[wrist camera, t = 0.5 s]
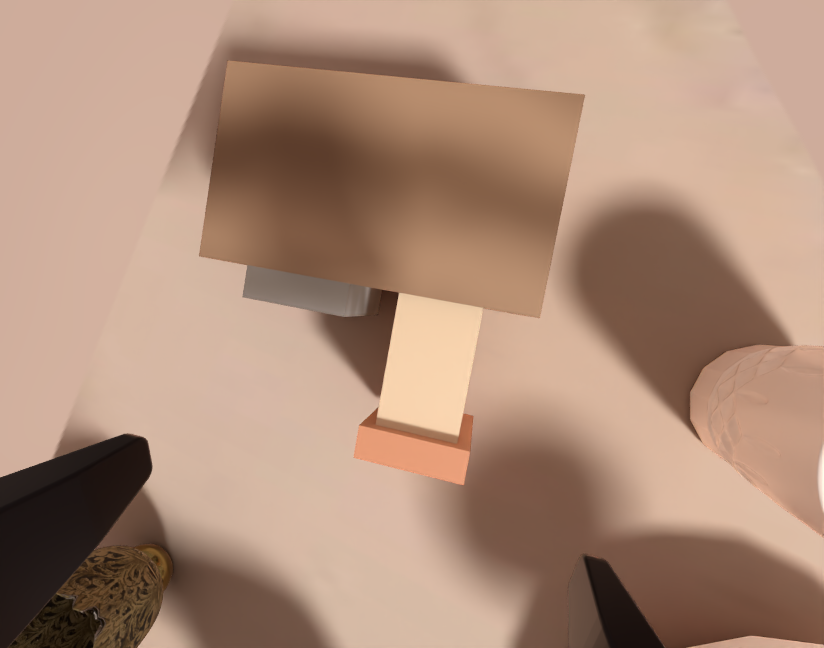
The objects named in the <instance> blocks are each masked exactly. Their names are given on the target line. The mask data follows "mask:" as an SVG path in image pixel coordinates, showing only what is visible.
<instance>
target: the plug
mask: <svg viewBox="0 0 824 648" xmlns="http://www.w3.org/2000/svg"><path fill="white" fill-rule="evenodd" d="M482 313H483V308H481V307H475V306H470V305H464V304H459V303H453V302H448V301H442V300H437V299H431V298H426V297H420V296H415V295H409V294H404V293H399V296H398V302H397V307H396V313H395V319H394V324H393V330H392V335H391V341H390V347H389V352H388V358H387V363H386V369H385V374H384V380H383V386H382V391H381V397H380V402H379V407H378V408H377V409H376V410H375V411H374V412H373V413H372V414H371V415H370V416H369V417H368V418H367V419H365V420H364V421H363V422H362V423H361V424H360V425H359V430H358V435H357V441H356V447H355V452H354V458H357V459H361V460H365V461H369V462H373V463H377V464H381V465H385V466H389V467H393V468H397V469H401V470H405V471H409V472H413V473H417V474H421V475H425V476H429V477H433V478H437V479H441V480H445V481H449V482H453V483H457V484H461V485H464V481H465V476H466V471H467V465H468V460H469V455H470V448H471V437H472V425H473V416H471V415H467V414H463V411H464V406H465V401H466V396H467V391H468V385H469V380H470V375H471V370H472V365H473V360H474V354H475V349H476V344H477V339H478V334H479V329H480V323H481V318H482Z"/></svg>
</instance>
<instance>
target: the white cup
mask: <svg viewBox="0 0 824 648" xmlns="http://www.w3.org/2000/svg"><path fill="white" fill-rule="evenodd" d="M690 420H691V422H692V424H693V426H694V428H695V430H696V431H697V433H698V435H699V437H700V439H701V441H702V443H703V444H704V445H705V446H706V447H708V448H709V449H710V450H712V451H713V452H714V453H716V454H717V455H718V456H720V457H721V458H722V459H724V460H725V461H726V462H728V463H729V464H730V465H731V466H732V467H733V468H734V469H735V470H736V471H737V473H738V474H739V475H741V476H742V477H743V478H745V479H746V480H747V481H749V482H750V483H751V484H752V485H753V486H755V487H756V488H757V489H758V490H760V491H761V492H762V493H764V494H765V495H767V496H768V497H769V498H770V499H771V500H773V501H774V502H775V503H776V504H777V505H779V506H780V507H781V508H783V509H784V510H786V511H787V512H788V513H790V514H791V515H793V516H794V517H795V518H797V519H798V520H800V521H801V522H802V523H804V524H805V525H806V526H808V527H809V528H811V529H812V530H813V531H815V532H816V533H817V534H819V535H820V536H821V537H823V538H824V346H807V345H805V346H772V345H754V346H749V347H744V348H739V349H734V350H729V351H726V352H725V353H724V354H722V355H721V356H719V357H718V358H717V359H715V360H714V361H712V362H711V363H710V364H708V365H707V366H705V367H704V368H703V369H702V371H701V373H700V375H699V377H698V379H697V380H696V382H695V384H694V386H693V388H692V390H691V392H690Z"/></svg>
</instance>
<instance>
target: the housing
mask: <svg viewBox="0 0 824 648" xmlns="http://www.w3.org/2000/svg"><path fill="white" fill-rule="evenodd" d="M584 97H585V95H582V94H572V93H562V92H551V91H541V90H530V89H520V88H509V87H499V86H489V85H478V84H468V83H457V82H447V81H437V80H426V79H416V78H405V77H395V76H385V75H374V74H364V73H353V72H343V71H333V70H322V69H312V68H301V67H291V66H280V65H270V64H260V63H249V62H239V61H227V67H226V74H225V81H224V88H223V95H222V102H221V109H220V116H219V122H218V129H217V136H216V143H215V150H214V157H213V164H212V171H211V177H210V184H209V191H208V198H207V205H206V212H205V219H204V226H203V233H202V239H201V246H200V253H199V256H201V257H206V258H212V259H217V260H222V261H228V262H233V263H239V264H244V265H247V271H246V278H245V284H244V291H243V297H245V298H250V299H255V300H260V301H265V302H270V303H275V304H281V305H286V306H291V307H296V308H301V309H306V310H311V311H316V312H321V313H327V314H332V315H337V316H342V317H351V316H368V315H378V310H379V305H380V299H381V293H382V290H386V291H392V292H397V293H404V294H409V295H415V296H420V297H426V298H431V299H437V300H442V301H448V302H453V303H459V304H464V305H470V306H475V307H481V308H485V309H491V310H496V311H502V312H507V313H513V314H518V315H524V316H530V317H536V318H540V314H541V309H542V304H543V299H544V294H545V289H546V285H547V280H548V275H549V270H550V265H551V260H552V255H553V250H554V245H555V240H556V235H557V230H558V225H559V220H560V216H561V211H562V206H563V201H564V196H565V191H566V186H567V181H568V176H569V171H570V166H571V161H572V156H573V151H574V147H575V142H576V137H577V132H578V127H579V122H580V117H581V112H582V107H583V102H584Z"/></svg>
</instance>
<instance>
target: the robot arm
mask: <svg viewBox="0 0 824 648" xmlns="http://www.w3.org/2000/svg"><path fill="white" fill-rule="evenodd" d="M151 472H152V461H151V455H150V450H149V445H148V441H147V440H146V439H145V438H144V437H141V436H137V435H134V434H123V435H120V436H117V437H114V438H111V439H108V440H105V441H103V442H100V443H97V444H94V445H91V446H88V447H86V448H83V449H80V450H77V451H74V452H71V453H69V454H66V455H63V456H60V457H57V458H54V459H52V460H49V461H46V462H43V463H40V464H38V465H35V466H32V467H29V468H26V469H23V470H20V471H18V472H15V473H12V474H9V475H6V476H3V477H0V648H8V647H9V646H10V645H11V644H12V643H13V642H14V640H15V639H16V638H17V637H18V636H19V635H20V634H21V632H22V631H23V630H24V629H25V628H26V627H27V626H28V625H29V623H30V622H31V621H32V620H33V619H34V618H35V617H36V615H37V614H38V613H39V612H40V611H41V610H42V609H43V608H44V606H45V605H46V604H47V603H48V602H49V601H50V600H51V598H52V597H53V596H54V595H55V594H56V593H57V592H58V591H59V589H60V588H61V587H62V586H63V585H64V584H65V583H66V581H67V580H68V579H69V578H70V577H71V576H72V575H73V574H74V572H75V571H76V570H77V569H78V568H79V567H80V566H81V564H82V563H83V562H84V561H85V560H86V559H87V558H88V557H89V555H90V554H91V553H92V552H93V551H94V549H95V548H96V547H97V546H98V545H99V543H100V542H101V541H102V540H103V538H104V537H105V536H106V535H107V533H108V532H109V531H110V529H111V528H112V527H113V525H114V524H115V523H116V521H117V520H118V519H119V517H120V516H121V515H122V513H123V512H124V511H125V509H126V508H127V507H128V505H129V504H130V502H131V501H132V500H133V498H134V497H135V496H136V494H137V493H138V492H139V490H140V489H141V488H142V486H143V485H144V484H145V482H146V481H147V480H148V478H149V477H150V475H151ZM568 642H569V648H666V647H665V646H664V644H663V643H662V641H661V640H660V639H659V637H658V636H657V634H656V633H655V631H654V630H653V628H652V627H651V625H650V624H649V622H648V621H647V619H646V618H645V616H644V615H643V613H642V612H641V610H640V609H639V607H638V606H637V604H636V603H635V601H634V600H633V598H632V597H631V595H630V594H629V592H628V591H627V589H626V588H625V586H624V585H623V584H622V582H621V581H620V579H619V578H618V576H617V575H616V573H615V572H614V570H613V569H612V567H611V566H610V564H609V563H608V562H607V561H606V560H605V559H603V558H600V557H596V556H592V555H588V554H582V555H581V556H580V557H579V559H578V562H577V564H576V567H575V569H574V572H573V574H572V577H571V579H570V582H569V586H568Z"/></svg>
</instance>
